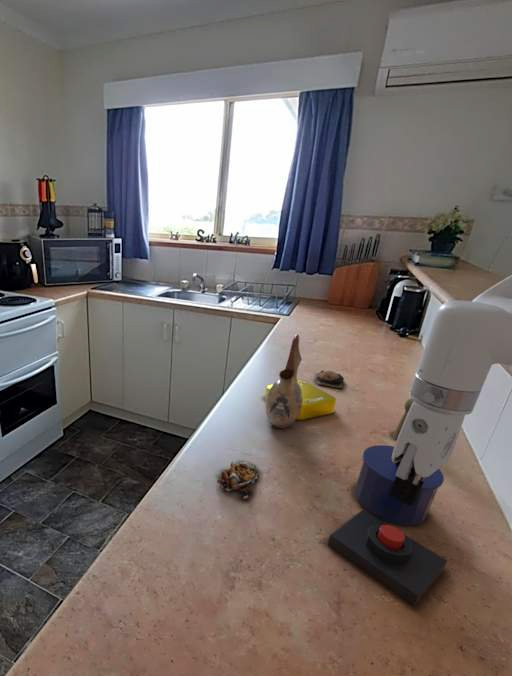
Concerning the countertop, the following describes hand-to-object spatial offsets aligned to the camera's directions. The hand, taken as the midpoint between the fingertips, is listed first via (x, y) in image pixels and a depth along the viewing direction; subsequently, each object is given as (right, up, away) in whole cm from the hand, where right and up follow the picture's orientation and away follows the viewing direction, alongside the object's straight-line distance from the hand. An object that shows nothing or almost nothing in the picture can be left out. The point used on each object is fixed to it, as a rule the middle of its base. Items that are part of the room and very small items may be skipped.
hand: (402, 498), depth 62 cm
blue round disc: (+8, +2, +14) cm, 17 cm away
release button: (0, -8, +3) cm, 9 cm away
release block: (0, -11, +5) cm, 12 cm away
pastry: (-21, -3, +22) cm, 31 cm away
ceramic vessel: (-6, +6, +45) cm, 46 cm away
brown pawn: (+26, +2, +41) cm, 48 cm away
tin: (+8, -6, +18) cm, 21 cm away
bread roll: (+20, +17, +74) cm, 78 cm away
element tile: (+3, +10, +56) cm, 57 cm away
